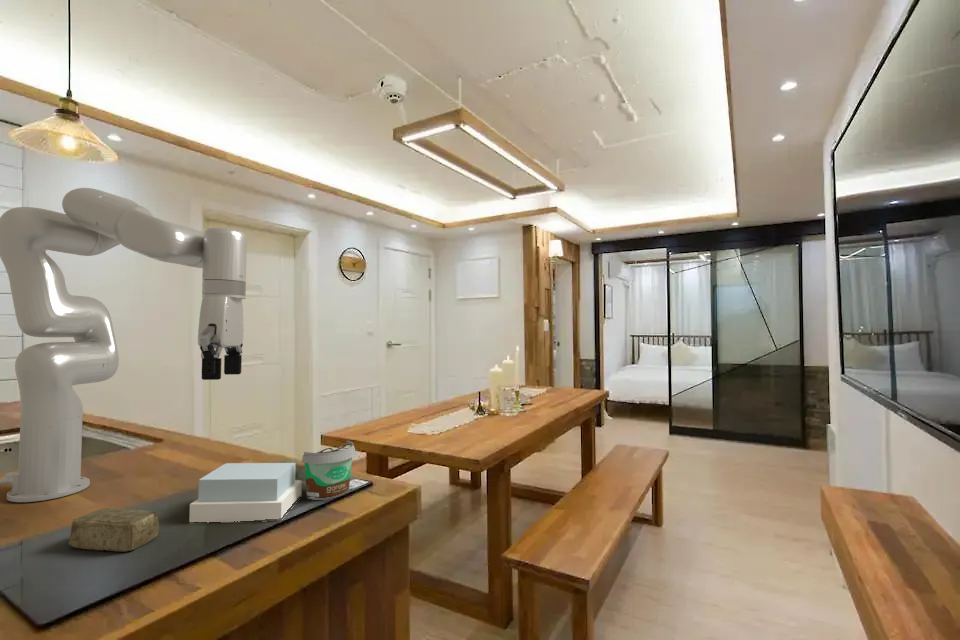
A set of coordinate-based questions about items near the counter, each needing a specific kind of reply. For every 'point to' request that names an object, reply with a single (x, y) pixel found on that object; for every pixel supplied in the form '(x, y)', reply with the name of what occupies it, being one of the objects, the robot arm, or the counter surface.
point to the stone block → (114, 529)
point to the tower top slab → (247, 482)
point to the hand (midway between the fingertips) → (222, 376)
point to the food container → (328, 471)
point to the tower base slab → (244, 508)
